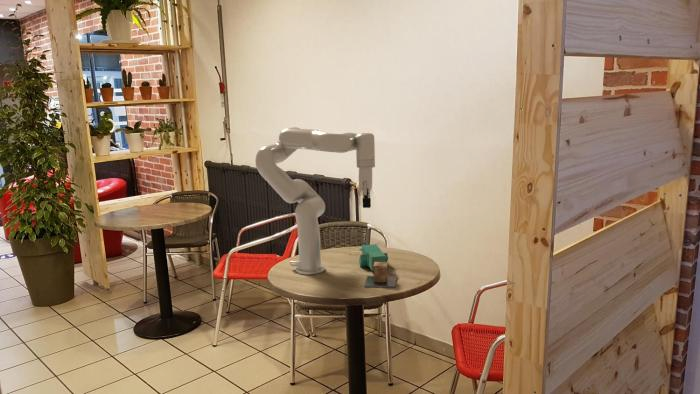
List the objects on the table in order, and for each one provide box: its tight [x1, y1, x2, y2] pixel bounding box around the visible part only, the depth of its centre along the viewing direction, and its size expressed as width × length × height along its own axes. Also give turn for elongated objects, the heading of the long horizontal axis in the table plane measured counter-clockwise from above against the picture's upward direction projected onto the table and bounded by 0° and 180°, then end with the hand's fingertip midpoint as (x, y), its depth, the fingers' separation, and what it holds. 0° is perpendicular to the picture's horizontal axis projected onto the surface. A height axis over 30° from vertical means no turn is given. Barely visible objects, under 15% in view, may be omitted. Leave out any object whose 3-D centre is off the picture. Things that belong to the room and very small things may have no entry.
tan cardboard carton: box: [373, 261, 388, 282], centre depth 212 cm, size 5×5×7 cm
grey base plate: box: [364, 275, 397, 289], centre depth 212 cm, size 12×12×7 cm
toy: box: [358, 240, 389, 272], centre depth 236 cm, size 12×10×30 cm
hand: (366, 207), depth 218 cm, fingers closed
